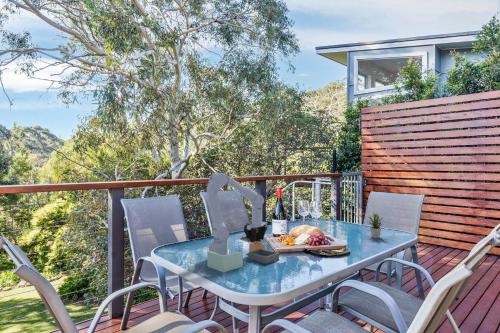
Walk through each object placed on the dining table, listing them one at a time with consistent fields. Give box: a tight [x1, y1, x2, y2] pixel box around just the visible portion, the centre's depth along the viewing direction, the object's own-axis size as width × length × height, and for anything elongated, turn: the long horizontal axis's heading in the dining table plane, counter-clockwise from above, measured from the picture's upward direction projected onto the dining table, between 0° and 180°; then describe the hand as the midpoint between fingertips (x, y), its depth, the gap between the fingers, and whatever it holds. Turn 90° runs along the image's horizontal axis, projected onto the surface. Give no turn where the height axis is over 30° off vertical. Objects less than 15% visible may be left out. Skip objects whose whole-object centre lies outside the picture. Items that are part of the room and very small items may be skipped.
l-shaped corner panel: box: [206, 250, 244, 273], centre depth 169 cm, size 12×12×8 cm
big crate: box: [247, 249, 280, 265], centre depth 180 cm, size 10×12×4 cm
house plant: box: [365, 212, 385, 239], centre depth 231 cm, size 14×14×16 cm
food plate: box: [307, 245, 351, 256], centre depth 196 cm, size 25×23×4 cm
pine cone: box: [243, 221, 261, 242], centre depth 227 cm, size 10×18×10 cm, turn 30°
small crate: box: [248, 241, 266, 253], centre depth 193 cm, size 5×7×5 cm
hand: (257, 240), depth 193 cm, fingers open, 7 cm apart
